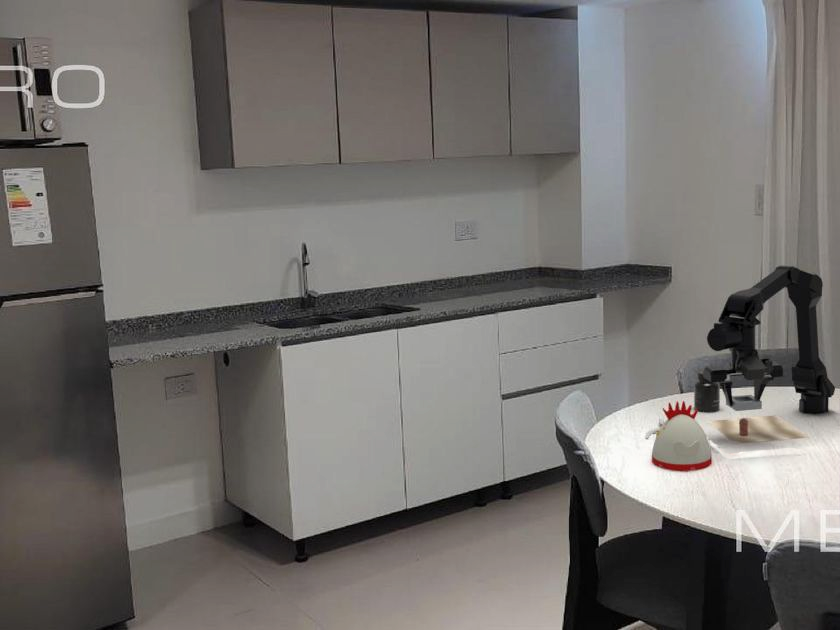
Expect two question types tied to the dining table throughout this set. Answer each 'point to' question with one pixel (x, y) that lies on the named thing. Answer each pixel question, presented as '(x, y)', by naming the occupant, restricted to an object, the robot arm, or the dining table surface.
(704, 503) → the dining table surface
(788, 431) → the keeper board
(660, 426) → the pliers
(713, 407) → the supplement bottle
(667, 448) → the kitchen timer
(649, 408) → the dining table surface
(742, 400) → the grey square frame
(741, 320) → the robot arm
